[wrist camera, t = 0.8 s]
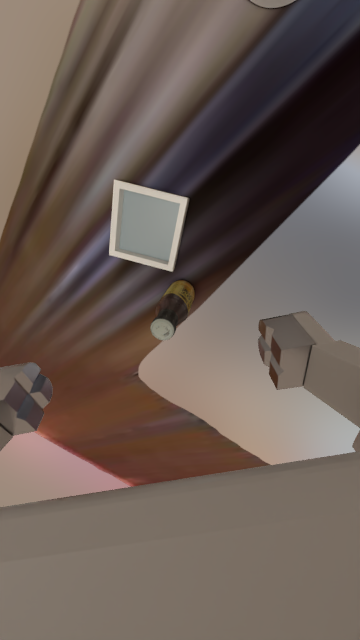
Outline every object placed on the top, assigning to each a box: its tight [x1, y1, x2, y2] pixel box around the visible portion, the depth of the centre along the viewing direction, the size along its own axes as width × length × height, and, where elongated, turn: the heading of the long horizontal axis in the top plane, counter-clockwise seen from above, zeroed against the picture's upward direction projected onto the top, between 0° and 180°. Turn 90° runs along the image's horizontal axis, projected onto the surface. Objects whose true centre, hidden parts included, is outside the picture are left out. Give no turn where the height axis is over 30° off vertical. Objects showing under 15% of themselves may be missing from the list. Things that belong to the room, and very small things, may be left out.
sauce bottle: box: [151, 280, 194, 340], centre depth 46 cm, size 7×6×20 cm
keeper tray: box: [109, 180, 190, 272], centre depth 48 cm, size 14×14×3 cm
